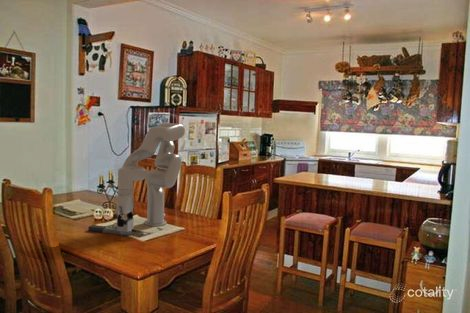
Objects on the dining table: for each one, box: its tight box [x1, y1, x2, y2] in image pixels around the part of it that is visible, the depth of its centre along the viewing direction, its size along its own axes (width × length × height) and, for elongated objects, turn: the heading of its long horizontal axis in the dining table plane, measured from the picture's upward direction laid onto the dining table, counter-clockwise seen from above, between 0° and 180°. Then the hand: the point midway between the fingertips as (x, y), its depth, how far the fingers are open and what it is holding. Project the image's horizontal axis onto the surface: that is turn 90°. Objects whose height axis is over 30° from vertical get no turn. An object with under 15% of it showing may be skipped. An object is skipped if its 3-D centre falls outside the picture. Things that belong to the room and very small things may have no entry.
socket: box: [117, 216, 134, 232], centre depth 197 cm, size 6×6×6 cm
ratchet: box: [87, 224, 132, 237], centre depth 199 cm, size 6×24×6 cm, turn 77°
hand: (125, 223), depth 197 cm, fingers open, 9 cm apart
